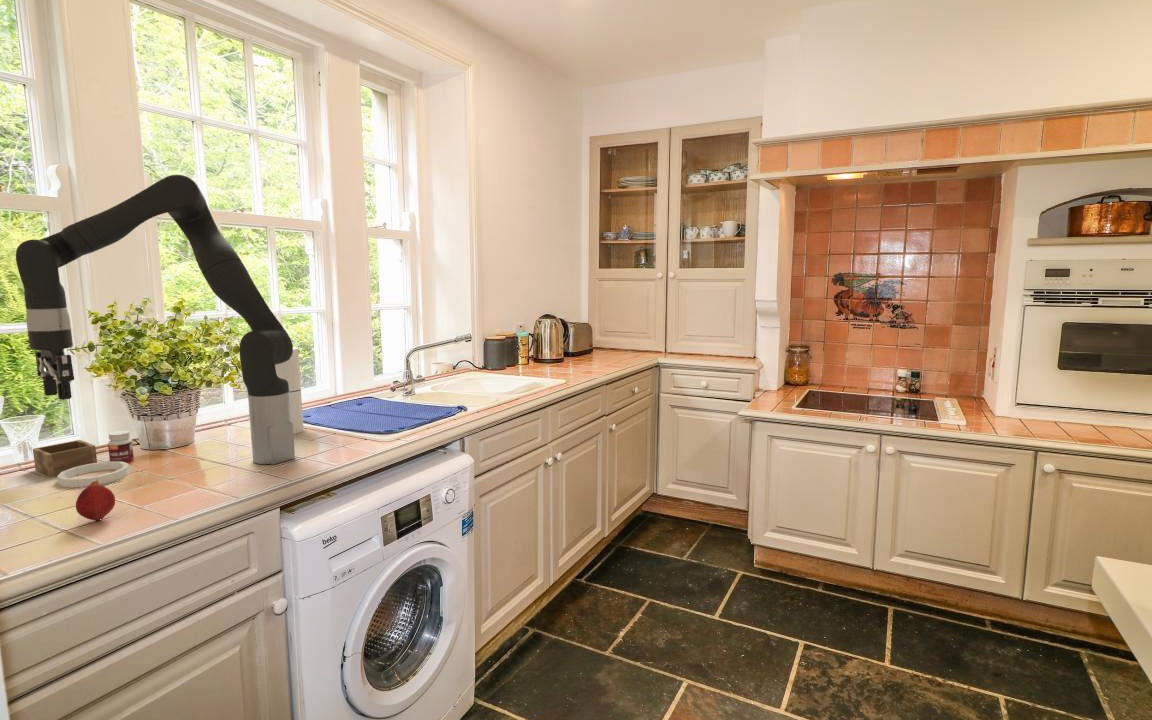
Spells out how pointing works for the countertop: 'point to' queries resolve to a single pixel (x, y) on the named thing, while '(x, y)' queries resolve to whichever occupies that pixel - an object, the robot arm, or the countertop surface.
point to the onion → (95, 501)
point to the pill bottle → (120, 447)
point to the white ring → (67, 481)
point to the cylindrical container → (293, 388)
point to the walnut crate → (63, 457)
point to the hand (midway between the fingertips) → (58, 397)
